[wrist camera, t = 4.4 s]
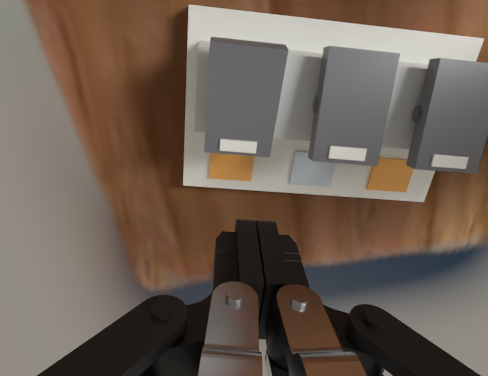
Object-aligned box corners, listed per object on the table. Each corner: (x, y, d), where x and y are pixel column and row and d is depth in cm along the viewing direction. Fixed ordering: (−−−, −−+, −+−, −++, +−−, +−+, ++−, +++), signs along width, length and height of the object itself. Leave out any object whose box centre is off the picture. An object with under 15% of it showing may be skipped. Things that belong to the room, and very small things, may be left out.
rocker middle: (386, 55, 23) (401, 53, 21) (366, 160, 25) (378, 166, 23) (321, 48, 23) (330, 45, 21) (305, 155, 25) (312, 161, 23)
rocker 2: (486, 66, 24) (509, 65, 22) (459, 167, 26) (478, 174, 24) (424, 59, 23) (442, 57, 22) (401, 163, 25) (416, 169, 24)
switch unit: (467, 36, 29) (524, 43, 23) (413, 192, 35) (448, 225, 29) (190, 4, 26) (182, 3, 21) (185, 175, 33) (177, 208, 27)
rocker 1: (284, 42, 21) (288, 50, 20) (267, 144, 26) (269, 158, 24) (211, 34, 21) (209, 42, 19) (205, 139, 25) (204, 153, 24)
